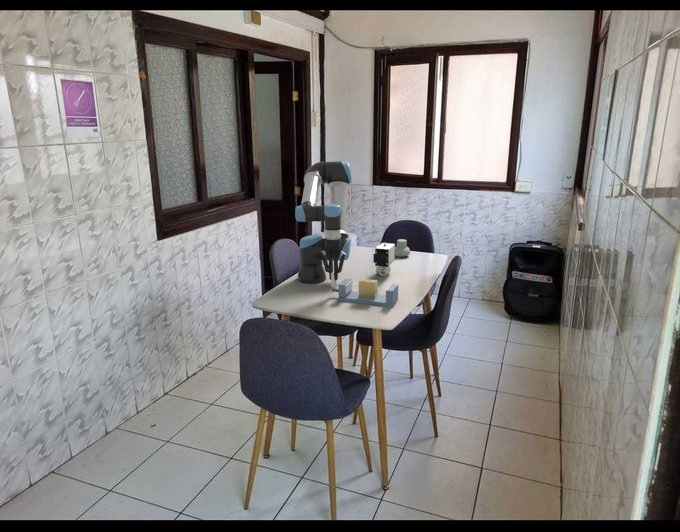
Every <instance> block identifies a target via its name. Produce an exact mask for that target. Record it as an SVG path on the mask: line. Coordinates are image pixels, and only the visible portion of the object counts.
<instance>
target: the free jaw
mask: <svg viewBox="0 0 680 532" xmlns="http://www.w3.org/2000/svg"><path fill="white" fill-rule="evenodd" d="M337 286H338V287H337V288H335V287H331V288H332V289H331V292H334V293H338V298H339V297H346V296H347V295H348V294H349V293H350V292H351V291H353V290H352V289H353V280H352V278H344V279H343V280H342V281H341V282H340V283H338V285H337Z"/></svg>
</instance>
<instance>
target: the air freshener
mask: <svg viewBox="0 0 680 532" xmlns="http://www.w3.org/2000/svg"><path fill="white" fill-rule="evenodd" d="M407 241H408V240H407V239H403V238H402V239H401V238H400V239H397V240H396V246H395V257H397V256H398V257H397V258H405V256H406V257H408V256H409V255H411V250H410V247H408V245H407V243H408V242H407Z"/></svg>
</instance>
